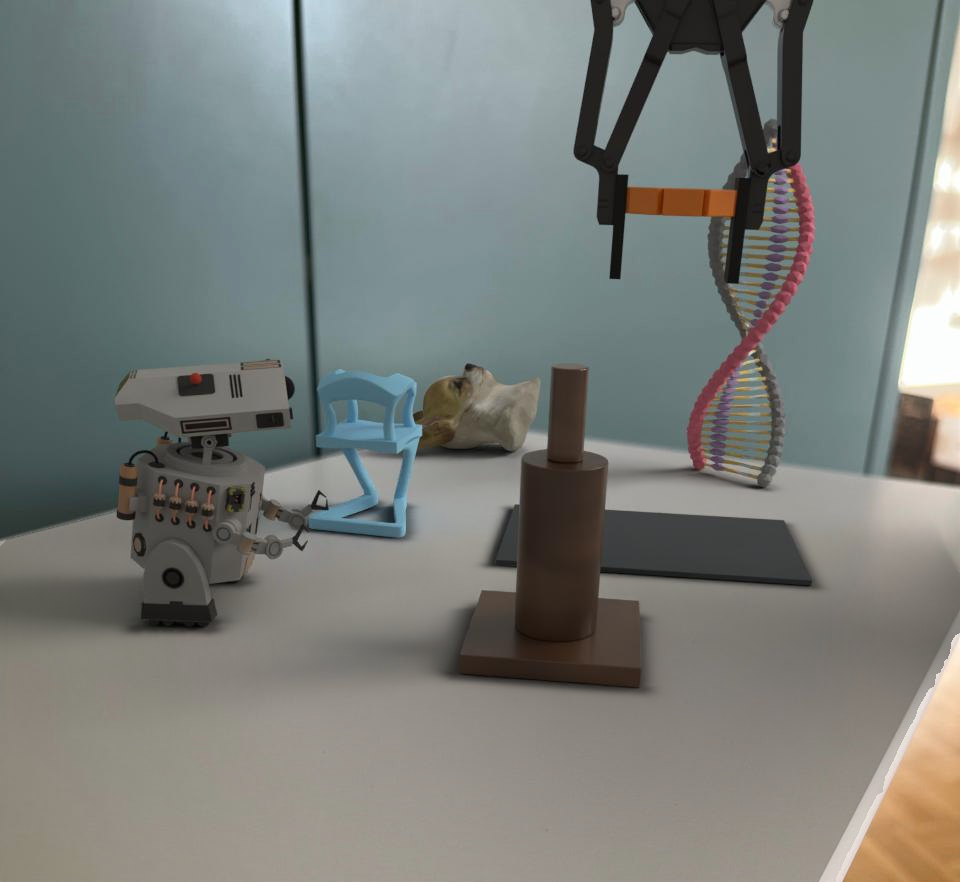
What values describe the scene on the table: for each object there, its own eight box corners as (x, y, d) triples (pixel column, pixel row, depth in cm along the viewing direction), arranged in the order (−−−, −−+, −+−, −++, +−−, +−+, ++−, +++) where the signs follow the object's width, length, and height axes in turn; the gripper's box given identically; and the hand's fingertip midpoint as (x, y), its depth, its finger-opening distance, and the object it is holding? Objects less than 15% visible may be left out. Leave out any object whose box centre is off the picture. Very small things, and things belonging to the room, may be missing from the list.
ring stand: (637, 617, 66) (662, 355, 59) (640, 687, 56) (669, 387, 50) (481, 606, 67) (488, 348, 60) (458, 673, 58) (463, 378, 51)
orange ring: (728, 214, 72) (731, 189, 72) (738, 217, 66) (742, 190, 65) (624, 211, 73) (626, 186, 73) (625, 214, 67) (627, 187, 66)
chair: (433, 508, 86) (433, 360, 81) (402, 538, 79) (400, 378, 74) (345, 499, 88) (341, 354, 83) (307, 528, 80) (299, 371, 75)
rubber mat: (783, 524, 84) (784, 519, 84) (811, 585, 72) (812, 580, 71) (514, 508, 87) (514, 503, 86) (495, 564, 74) (495, 559, 74)
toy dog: (536, 370, 96) (378, 373, 98) (537, 462, 100) (385, 463, 102) (543, 354, 106) (400, 357, 108) (544, 438, 109) (405, 439, 111)
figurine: (306, 633, 62) (293, 379, 56) (116, 625, 62) (84, 373, 56) (331, 579, 71) (323, 353, 64) (164, 573, 71) (140, 348, 65)
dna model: (722, 461, 103) (763, 125, 91) (798, 481, 97) (853, 122, 85) (662, 474, 98) (697, 119, 85) (739, 496, 91) (788, 117, 79)
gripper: (539, -142, 59) (522, 278, 69) (900, -144, 57) (832, 290, 67) (548, -109, 66) (531, 269, 76) (871, -110, 64) (813, 280, 74)
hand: (672, 279), depth 71 cm, fingers closed on orange ring, 7 cm apart
